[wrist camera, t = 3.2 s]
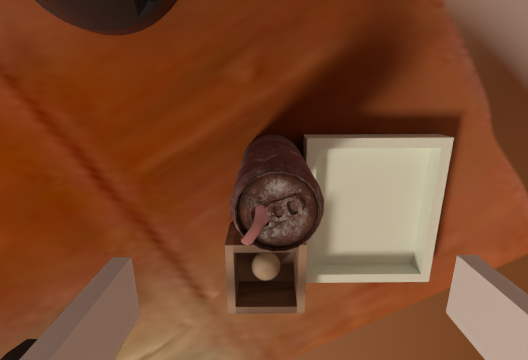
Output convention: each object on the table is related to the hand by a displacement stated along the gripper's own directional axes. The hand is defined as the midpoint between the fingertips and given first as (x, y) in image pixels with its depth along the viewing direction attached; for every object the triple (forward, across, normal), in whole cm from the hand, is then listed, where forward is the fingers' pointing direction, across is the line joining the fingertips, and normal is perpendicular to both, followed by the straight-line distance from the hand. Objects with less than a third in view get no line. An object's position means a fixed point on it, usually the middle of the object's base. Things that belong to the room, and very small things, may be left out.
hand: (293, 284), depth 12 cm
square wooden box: (+21, -1, -11) cm, 23 cm away
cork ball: (+20, -1, -11) cm, 23 cm away
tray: (+21, +10, -5) cm, 23 cm away
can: (+21, 0, 0) cm, 21 cm away
